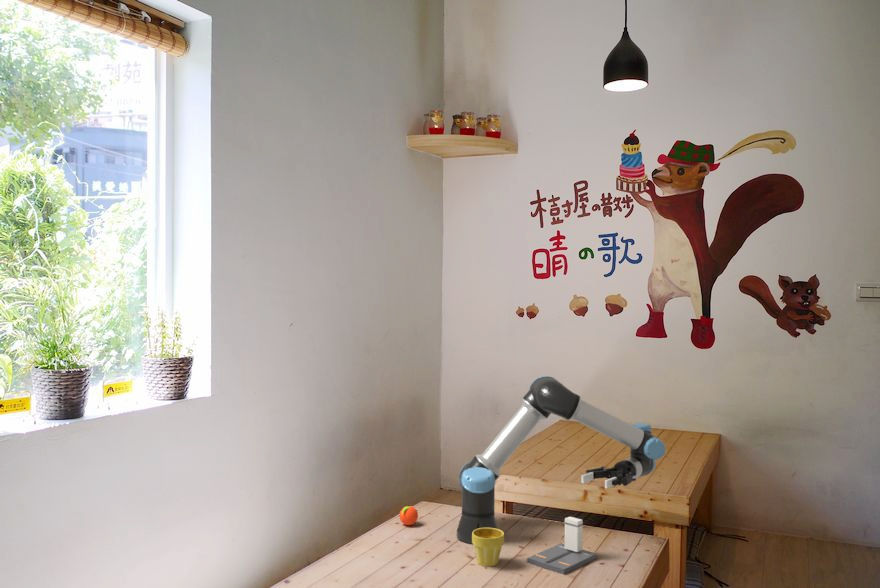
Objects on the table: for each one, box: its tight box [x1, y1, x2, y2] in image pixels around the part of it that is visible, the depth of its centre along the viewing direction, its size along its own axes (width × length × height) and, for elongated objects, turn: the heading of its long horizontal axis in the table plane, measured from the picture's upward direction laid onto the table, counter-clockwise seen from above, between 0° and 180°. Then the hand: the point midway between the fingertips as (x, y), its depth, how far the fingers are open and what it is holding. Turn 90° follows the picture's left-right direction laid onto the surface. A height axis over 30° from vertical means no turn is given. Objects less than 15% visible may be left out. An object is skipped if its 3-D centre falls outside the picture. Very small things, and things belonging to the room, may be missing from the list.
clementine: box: [399, 505, 419, 526], centre depth 276 cm, size 8×7×7 cm
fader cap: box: [564, 516, 584, 552], centre depth 247 cm, size 5×3×10 cm, turn 46°
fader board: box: [526, 542, 598, 575], centre depth 242 cm, size 14×19×2 cm
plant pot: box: [472, 528, 505, 567], centre depth 240 cm, size 10×10×10 cm
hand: (594, 482), depth 255 cm, fingers open, 9 cm apart
